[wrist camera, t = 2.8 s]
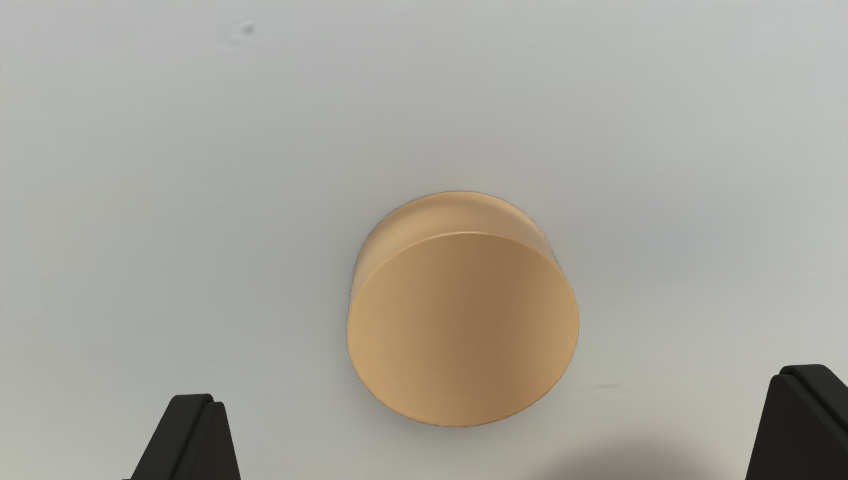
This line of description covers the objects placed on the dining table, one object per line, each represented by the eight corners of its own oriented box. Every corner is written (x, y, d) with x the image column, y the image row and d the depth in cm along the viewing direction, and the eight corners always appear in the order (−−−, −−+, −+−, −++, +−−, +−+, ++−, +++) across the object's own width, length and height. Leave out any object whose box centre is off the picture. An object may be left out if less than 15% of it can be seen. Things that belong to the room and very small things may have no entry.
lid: (361, 372, 18) (356, 434, 16) (343, 195, 16) (334, 238, 13) (550, 361, 18) (572, 421, 16) (560, 184, 16) (588, 225, 13)
